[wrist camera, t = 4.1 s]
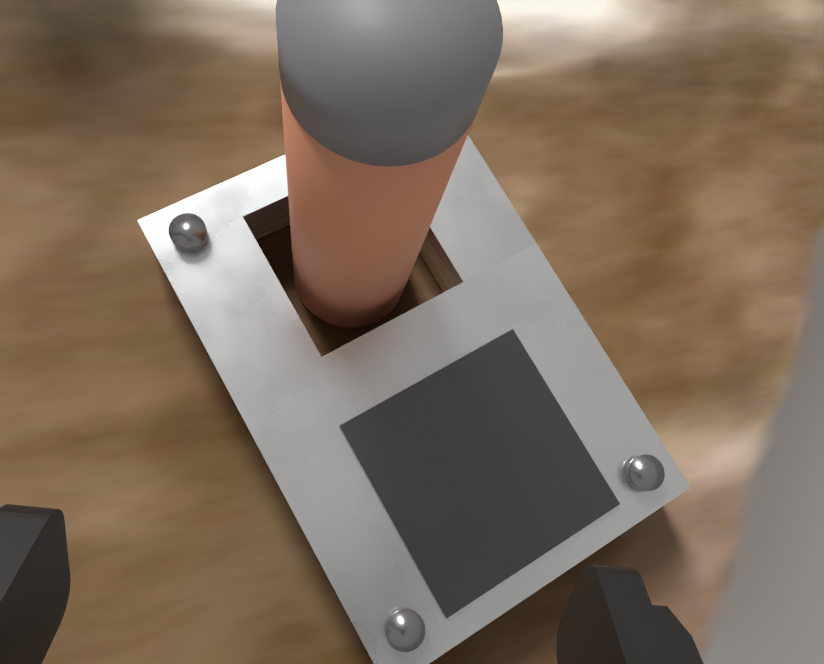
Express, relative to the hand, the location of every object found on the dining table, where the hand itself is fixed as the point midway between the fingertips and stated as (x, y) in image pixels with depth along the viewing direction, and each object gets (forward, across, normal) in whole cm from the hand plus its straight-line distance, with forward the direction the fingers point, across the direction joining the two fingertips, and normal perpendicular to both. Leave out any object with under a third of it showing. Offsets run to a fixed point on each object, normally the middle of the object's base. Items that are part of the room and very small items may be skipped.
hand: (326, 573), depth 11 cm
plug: (+21, 0, +5) cm, 22 cm away
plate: (+18, -3, +8) cm, 20 cm away
